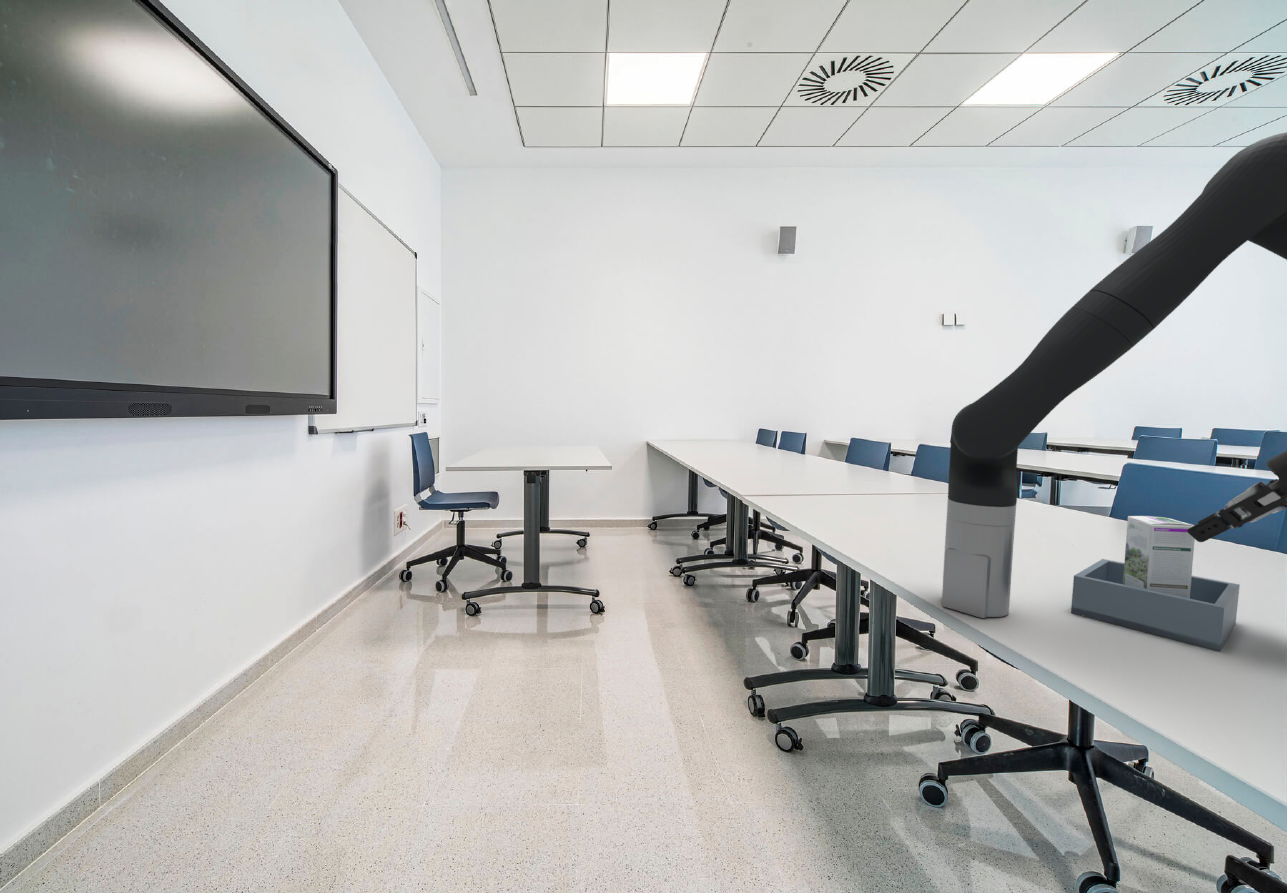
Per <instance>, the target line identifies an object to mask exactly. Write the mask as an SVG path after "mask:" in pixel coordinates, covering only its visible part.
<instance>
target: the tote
mask: <svg viewBox="0 0 1287 893" xmlns="http://www.w3.org/2000/svg"><path fill="white" fill-rule="evenodd" d="M1123 576H1124V562H1121V561H1116V560H1111V559H1104V558H1102V559H1100V560H1098V561H1097V562H1096V561H1095V563H1093V564H1091V565H1090V566H1088V567H1086V568H1085V569H1083V570H1081V571H1079V572H1077V573H1076V574H1074V575H1073V582H1072V595H1071V608H1070V610H1071V611H1070V613H1071V614H1074V613H1076V614H1075V615H1077V614H1078V616H1081V615H1084V616H1083V617H1085V616H1086V618H1089V619H1093V618H1094V619H1093V620H1096V621H1097V620H1098V621H1102V622H1105V623H1109V624H1112V625H1117V626H1121V627H1124V628H1128V629H1132V630H1136V631H1140V632H1144V633H1148V634H1151V635H1155V636H1158V637H1162V638H1167V639H1170V640H1174V641H1178V642H1181V643H1186V644H1190V645H1194V646H1196V647H1197V646H1198V647H1201V648H1205V649H1210V650H1211V651H1216V652H1221V650H1222V648H1223V647H1224V645H1225V643H1226V641H1227V639H1228V638H1229V636H1230V635H1231V632H1232V630H1233V629H1234V627H1235V625H1236V622H1237V614H1238V606H1239V605H1238V604H1239V603H1238V602H1239V594H1240V586H1241V585H1240V584H1237V583H1233V582H1229V581H1228V582H1227V581H1223V580H1218V579H1212V578H1207V577H1203V576H1202V577H1200V576H1195V575H1192V577H1191V590H1190V599H1189V598H1184V597H1179V596H1175V595H1170V594H1165V593H1161V592H1156V591H1151V590H1146V589H1142V588H1137V587H1132V586H1128V585H1123Z"/></svg>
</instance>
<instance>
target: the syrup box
mask: <svg viewBox="0 0 1287 893" xmlns="http://www.w3.org/2000/svg"><path fill="white" fill-rule="evenodd" d="M1126 522H1127V523H1126V524H1127V525H1126V535H1125V536H1126V537H1125V538H1126V539H1125V551H1124V553H1125V554H1124V562H1123V563H1124V576H1123V585H1128V586H1132V587H1137V588H1142V589H1146V590H1151V591H1156V592H1161V593H1165V594H1170V595H1175V596H1179V597H1184V598H1189V599H1190V590H1191V577H1192V576H1193V574H1192V573H1193V563H1194V562H1193V561H1194V551H1195V541H1196V540H1195V539H1194V538H1193V537H1192V536H1191V535H1190V534H1189V533H1188V529H1189V528H1191V527H1193V526H1195V525H1196V524H1195V525H1194V524H1192V523H1187V522H1183V521H1180V520H1177V519H1173V518H1169V517H1164V516H1154V515H1128V516H1127V521H1126Z"/></svg>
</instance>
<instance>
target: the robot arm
mask: <svg viewBox="0 0 1287 893" xmlns="http://www.w3.org/2000/svg"><path fill="white" fill-rule="evenodd" d="M1247 242H1250V243H1253V244H1254V245H1256V246H1259V247H1261V248H1263V249H1265V250H1267V251H1269V252H1271V253H1273V254H1274V255H1277V256H1279V257H1281V258H1283V259H1285V260H1286V261H1287V131H1285V132H1281V133H1277V134H1274V135H1273V134H1272V135H1271V136H1268V137H1265V138H1262V139H1260V140H1258V141H1255V142H1254V143H1252V144H1251V143H1250V144H1249V145H1247V146H1246V147H1245V148H1243V149H1241V150H1240V151H1238V152H1237V153H1236V154H1235V155H1233V156H1232V157H1231V158H1230V159H1229V160H1228V161H1227V162H1226V163H1225V164H1224V165H1223V166H1222V167H1220V169H1219V170H1218V171H1217V172H1216V173H1215V174H1214V175H1213V176H1212V177H1211V178H1210V180H1208V182H1207V184H1206V185H1205V186H1204V188H1203V190H1202V192H1201V193H1200V195H1199V196H1198V197H1197V198H1196V199H1195V200H1194V201H1193V202H1192V203H1191V204H1190V205H1189V206H1188V207H1187V208H1186V209H1185V210H1184V211H1183V212H1182V213H1181V214H1180V215H1179V216H1178V217H1177V218H1176V219H1175V221H1173V222H1172V223H1171V224H1170V225H1169V226H1167V228H1166V229H1164V230H1163V231H1162V232H1160V233H1159V234H1158V235H1157V236H1155V237H1154V238H1153V239H1152V240H1150V241H1149V242H1148V243H1146V244H1145V245H1144V246H1143V247H1140V249H1138V250H1137V251H1136V252H1134V253H1133V254H1132V255H1130V256H1129V257H1128V258H1127V259H1125V260H1124V261H1123V262H1122V263H1120V264H1119V265H1118V266H1116V268H1115V269H1113V270H1112V271H1111V272H1109V273H1108V274H1107V275H1106V276H1105V277H1104V278H1103V279H1102V280H1100V281H1099V282H1098V283H1097V284H1095V285H1094V286H1093V287H1092V288H1091V289H1089V291H1088V292H1086V293H1085V294H1084V295H1083V296H1082V297H1081V298H1080V299H1079V300H1078V301H1077V302H1076V303H1075V304H1074V305H1072V307H1070V308H1069V309H1068V310H1067V311H1065V313H1064V314H1063V315H1062V316H1061V317H1060V318H1059V319H1058V320H1057V322H1056V323H1055V324H1053V325H1052V327H1051V328H1050V329H1049V330H1048V332H1046V334H1045V335H1044V336H1043V337H1042V338H1041V340H1040V341H1039V342H1038V343H1037V344H1036V346H1035V347H1034V349H1033V350H1032V351H1031V352H1030V353H1029V354H1028V356H1027V357H1026V358H1025V360H1024V361H1022V363H1021V364H1020V365H1019V366H1017V368H1016V369H1014V371H1012V372H1011V373H1010V374H1009V375H1008V376H1006V377H1004V379H1003V380H1002V381H1000V382H998V384H997V385H995V386H994V387H993V388H991V389H990V390H989V391H988V392H987V393H985V394H983V395H982V396H981V397H979V398H978V399H976V400H975V401H974V402H972V403H969V404H967V405H966V406H964V407H963V408H962V409H961V410H959V412H957V414H956V415H955V417H954V419H953V421H952V424H951V433H950V447H949V449H950V450H949V451H950V452H949V467H948V468H949V469H948V482H947V483H948V486H947V490H948V491H947V503H946V504H947V505H946V506H947V507H946V522H945V537H944V538H945V539H944V540H945V541H944V554H943V555H944V556H943V569H942V570H943V571H942V572H943V573H942V574H943V575H942V589H941V590H942V591H941V592H942V593H941V607H944V608H948V609H951V610H955V611H957V612H961V613H964V614H968V615H971V616H975V617H977V618H981V619H985V618H999V617H1005V616H1008V615H1009V613H1010V604H1011V603H1010V602H1011V589H1012V588H1011V587H1012V570H1013V556H1014V554H1013V553H1014V540H1015V528H1016V527H1015V526H1016V513H1017V512H1016V511H1017V503H1018V502H1017V501H1018V480H1017V479H1018V476H1017V466H1018V465H1017V464H1018V452H1019V446H1021V444H1022V443H1023V442H1024V441H1025V440H1026V438H1027V437H1028V436H1030V434H1031V433H1032V432H1033V431H1034V429H1036V427H1038V425H1039V424H1040V423H1041V422H1042V421H1043V420H1044V419H1045V418H1046V417H1048V415H1050V413H1051V412H1052V411H1053V410H1054V409H1056V407H1057V406H1058V405H1059V404H1060V403H1061V402H1063V401H1064V400H1065V399H1066V398H1067V397H1068V396H1070V395H1071V394H1072V393H1074V392H1075V391H1077V390H1078V389H1080V388H1081V387H1082V386H1084V385H1085V384H1087V383H1089V382H1090V381H1091V380H1093V379H1094V378H1095V377H1096V376H1098V375H1099V374H1101V373H1102V372H1103V371H1104V370H1106V369H1107V368H1109V367H1110V366H1111V365H1113V364H1114V363H1115V362H1116V361H1117V360H1118V359H1120V358H1121V357H1122V356H1124V355H1125V354H1126V353H1128V352H1129V351H1130V350H1132V348H1134V347H1135V346H1136V345H1138V343H1140V342H1141V341H1142V340H1143V339H1144V338H1145V337H1147V336H1148V335H1149V334H1150V333H1151V332H1153V330H1155V329H1156V328H1157V327H1158V326H1159V325H1160V324H1161V323H1162V322H1163V321H1165V319H1166V318H1167V317H1168V316H1169V315H1171V314H1172V313H1173V312H1174V311H1175V310H1176V309H1177V308H1178V307H1179V306H1180V305H1182V303H1184V301H1185V300H1186V299H1188V297H1190V295H1191V294H1193V292H1194V291H1195V290H1196V289H1197V288H1198V287H1199V286H1200V285H1201V284H1202V283H1203V282H1204V281H1205V280H1206V279H1207V278H1208V277H1209V276H1210V275H1211V273H1212V272H1214V271H1215V270H1216V268H1218V267H1219V266H1220V265H1221V264H1222V263H1223V262H1224V261H1225V260H1226V259H1228V257H1229V256H1230V255H1232V254H1233V253H1234V252H1235V251H1236V250H1237V249H1239V248H1240V247H1241V246H1242V245H1244V244H1245V243H1247ZM1265 466H1266V468H1268V470H1269V471H1271V473H1273V474H1274V475H1275V476H1277V477H1278V479H1277V478H1276V479H1272V480H1269V481H1268V483H1266V484H1265V483H1264V482H1263V481H1259V482H1257V483H1255V484H1253V485H1252V486H1250V487H1248V488H1247V489H1245V491H1244V492H1242V493H1240V494H1238V495H1237V496H1234V497H1233V498H1232V499H1231V500H1229V501H1228V502H1226V503H1227V504H1225V506H1224V507H1223V508H1222V509H1220V510H1218V511H1216V512H1214V513H1212V514H1210V515H1209V516H1206V517H1204V518H1202V519H1200V520H1199V521H1198V522H1197V523H1196V524H1195V526H1193V527H1191V528H1189V529H1188V533H1189V534H1190V535H1191V536H1192V537H1193V538H1194V539H1195V541H1196V542H1198V543H1204V542H1207V541H1208V540H1210V539H1213V538H1214V537H1216V536H1219V535H1221V534H1222V533H1224V532H1226V531H1228V530H1233V529H1237V528H1238V529H1239V528H1242V527H1243V526H1244V524H1247V523H1254V522H1257V521H1259V520H1261V519H1263V518H1265V517H1267V516H1269V515H1271V514H1275V513H1279V512H1281V511H1283V510H1285V509H1286V508H1287V449H1286V450H1285V451H1282V452H1281V453H1278V454H1277V455H1276V456H1274V457H1271V458H1269V459H1268V460H1267V461H1266V462H1265Z"/></svg>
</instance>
